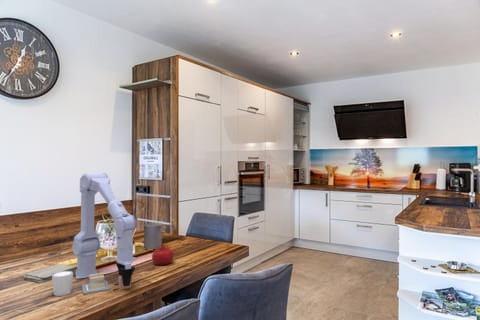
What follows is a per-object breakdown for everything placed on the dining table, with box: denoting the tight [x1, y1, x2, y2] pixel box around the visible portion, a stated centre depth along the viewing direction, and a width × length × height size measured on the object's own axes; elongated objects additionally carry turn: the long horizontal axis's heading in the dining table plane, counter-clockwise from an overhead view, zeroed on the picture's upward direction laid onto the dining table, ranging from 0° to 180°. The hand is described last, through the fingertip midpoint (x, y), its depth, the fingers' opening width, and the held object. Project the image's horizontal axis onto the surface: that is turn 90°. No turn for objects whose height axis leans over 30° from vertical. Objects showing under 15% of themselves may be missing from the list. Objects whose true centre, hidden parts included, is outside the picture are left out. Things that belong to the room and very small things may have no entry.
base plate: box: [81, 280, 111, 296], centre depth 123 cm, size 10×9×1 cm
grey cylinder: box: [51, 271, 74, 297], centre depth 118 cm, size 7×7×7 cm
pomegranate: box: [151, 244, 174, 266], centre depth 154 cm, size 10×10×9 cm
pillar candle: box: [143, 222, 163, 250], centre depth 182 cm, size 10×10×15 cm
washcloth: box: [23, 263, 77, 284], centre depth 138 cm, size 12×18×3 cm, turn 155°
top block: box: [118, 275, 132, 290], centre depth 124 cm, size 4×4×4 cm
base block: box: [88, 272, 105, 290], centre depth 123 cm, size 5×5×4 cm
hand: (124, 282), depth 124 cm, fingers open, 7 cm apart
